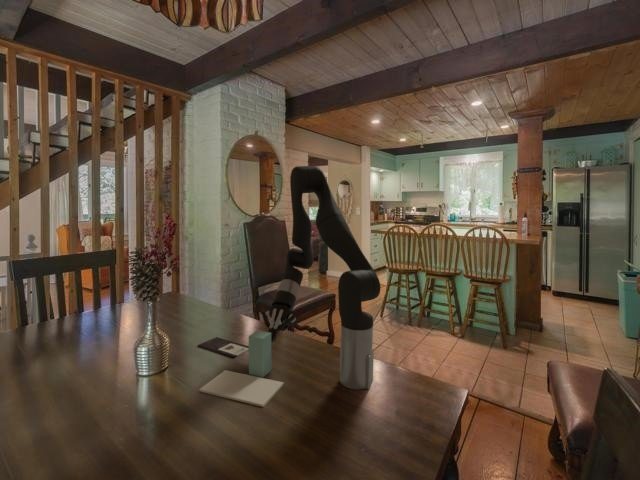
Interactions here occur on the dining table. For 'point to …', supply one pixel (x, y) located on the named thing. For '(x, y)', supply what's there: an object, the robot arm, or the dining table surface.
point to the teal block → (259, 353)
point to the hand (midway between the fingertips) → (270, 341)
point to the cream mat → (243, 388)
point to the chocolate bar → (224, 347)
